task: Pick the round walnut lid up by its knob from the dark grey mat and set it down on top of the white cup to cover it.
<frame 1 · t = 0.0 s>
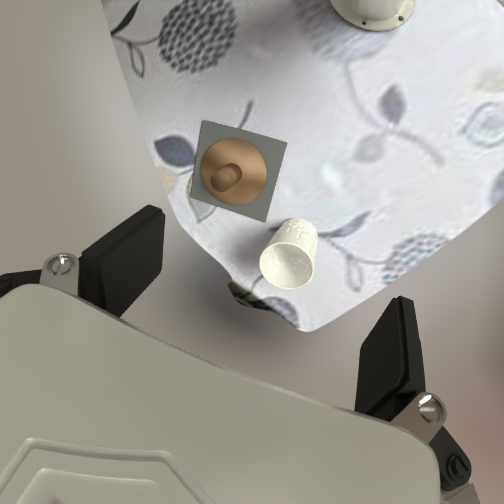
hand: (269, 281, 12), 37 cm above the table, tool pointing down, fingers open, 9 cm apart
white cup: (298, 235, 52), on the table
lid: (234, 171, 49), resting on mat
mat: (235, 170, 49), on the table
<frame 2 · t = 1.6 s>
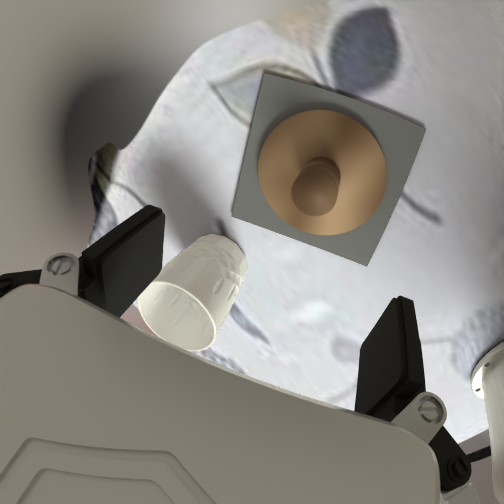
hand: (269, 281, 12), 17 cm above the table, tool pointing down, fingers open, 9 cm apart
white cup: (219, 259, 34), on the table
lid: (322, 173, 25), resting on mat
mat: (323, 172, 26), on the table
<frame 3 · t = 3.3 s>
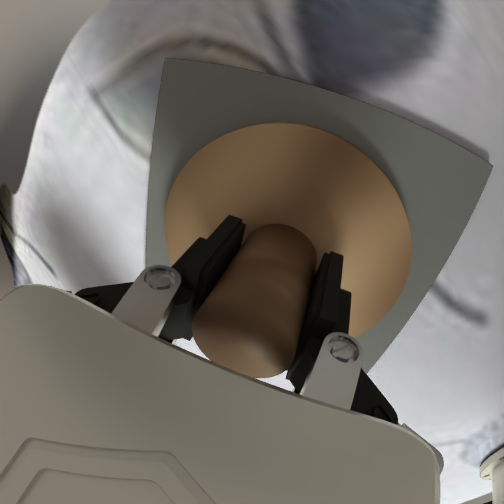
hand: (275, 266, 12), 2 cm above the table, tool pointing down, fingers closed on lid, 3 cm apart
lid: (283, 249, 14), resting on mat, touching gripper
mat: (285, 245, 14), on the table
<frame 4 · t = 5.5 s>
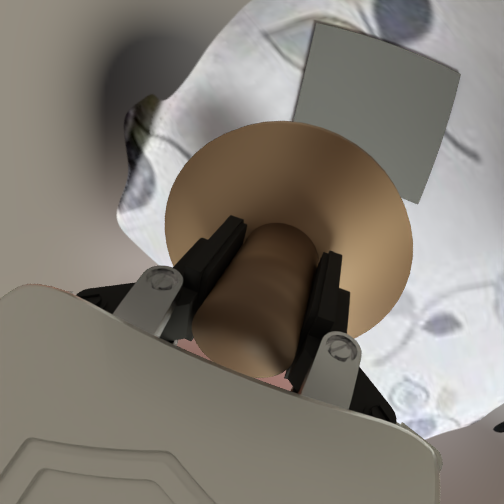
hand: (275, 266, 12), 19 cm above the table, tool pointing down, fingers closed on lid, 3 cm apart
lid: (284, 248, 14), point 18 cm above the table, touching gripper
mat: (374, 111, 24), on the table
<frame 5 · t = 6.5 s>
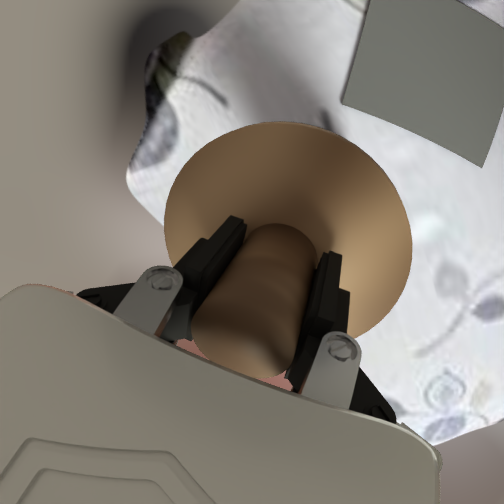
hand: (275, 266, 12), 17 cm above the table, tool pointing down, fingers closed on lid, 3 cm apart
lid: (283, 249, 14), point 16 cm above the table, touching gripper
mat: (439, 63, 18), on the table
when the fingers open (13 cm above the table, at t = 7.4 s): lid drops 1 cm, resting on white cup.
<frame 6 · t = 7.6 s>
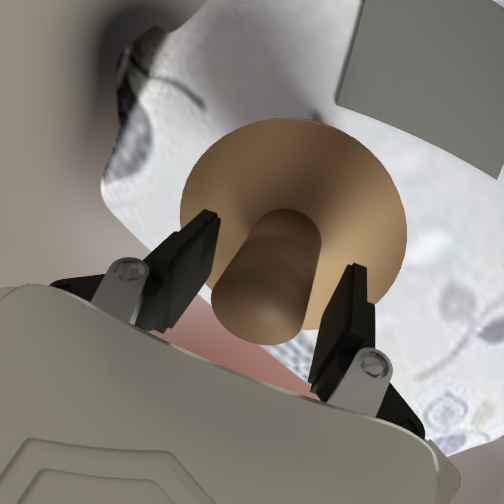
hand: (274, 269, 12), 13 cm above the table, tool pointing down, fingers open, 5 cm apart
lid: (290, 233, 15), point 10 cm above the table, touching white cup
mat: (450, 58, 15), on the table
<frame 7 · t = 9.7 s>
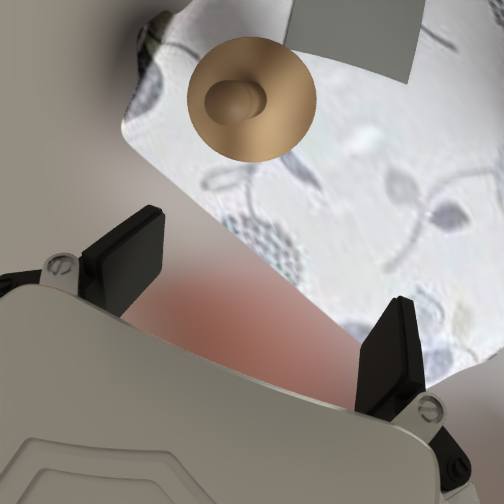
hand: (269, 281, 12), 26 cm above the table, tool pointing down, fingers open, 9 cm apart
lid: (250, 99, 23), point 10 cm above the table, touching white cup
mat: (358, 10, 24), on the table
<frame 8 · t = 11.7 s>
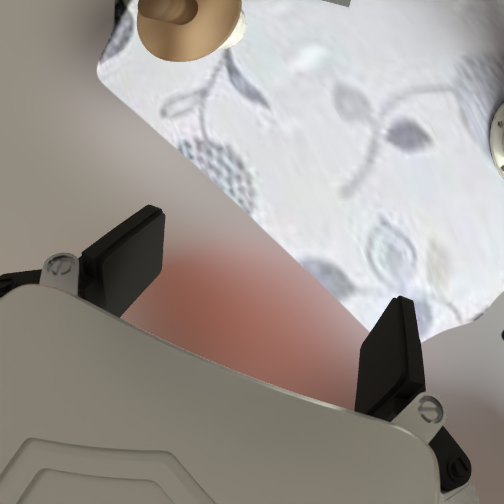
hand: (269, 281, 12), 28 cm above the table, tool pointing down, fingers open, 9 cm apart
white cup: (222, 26, 30), on the table, touching lid
lid: (187, 11, 22), point 10 cm above the table, touching white cup
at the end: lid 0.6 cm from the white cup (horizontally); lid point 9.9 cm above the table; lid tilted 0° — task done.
